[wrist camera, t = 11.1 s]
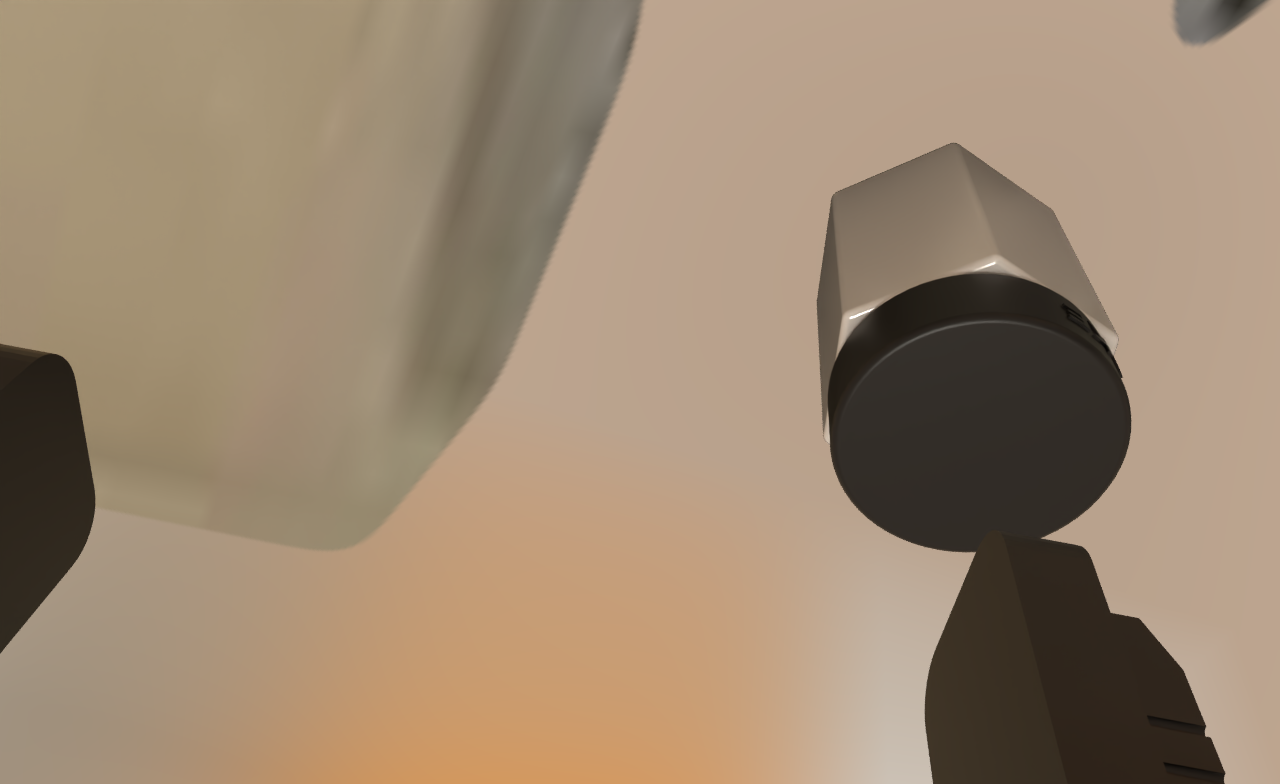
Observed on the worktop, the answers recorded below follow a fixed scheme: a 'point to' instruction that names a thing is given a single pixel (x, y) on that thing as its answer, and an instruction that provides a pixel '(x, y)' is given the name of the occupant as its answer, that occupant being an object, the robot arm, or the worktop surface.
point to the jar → (963, 357)
